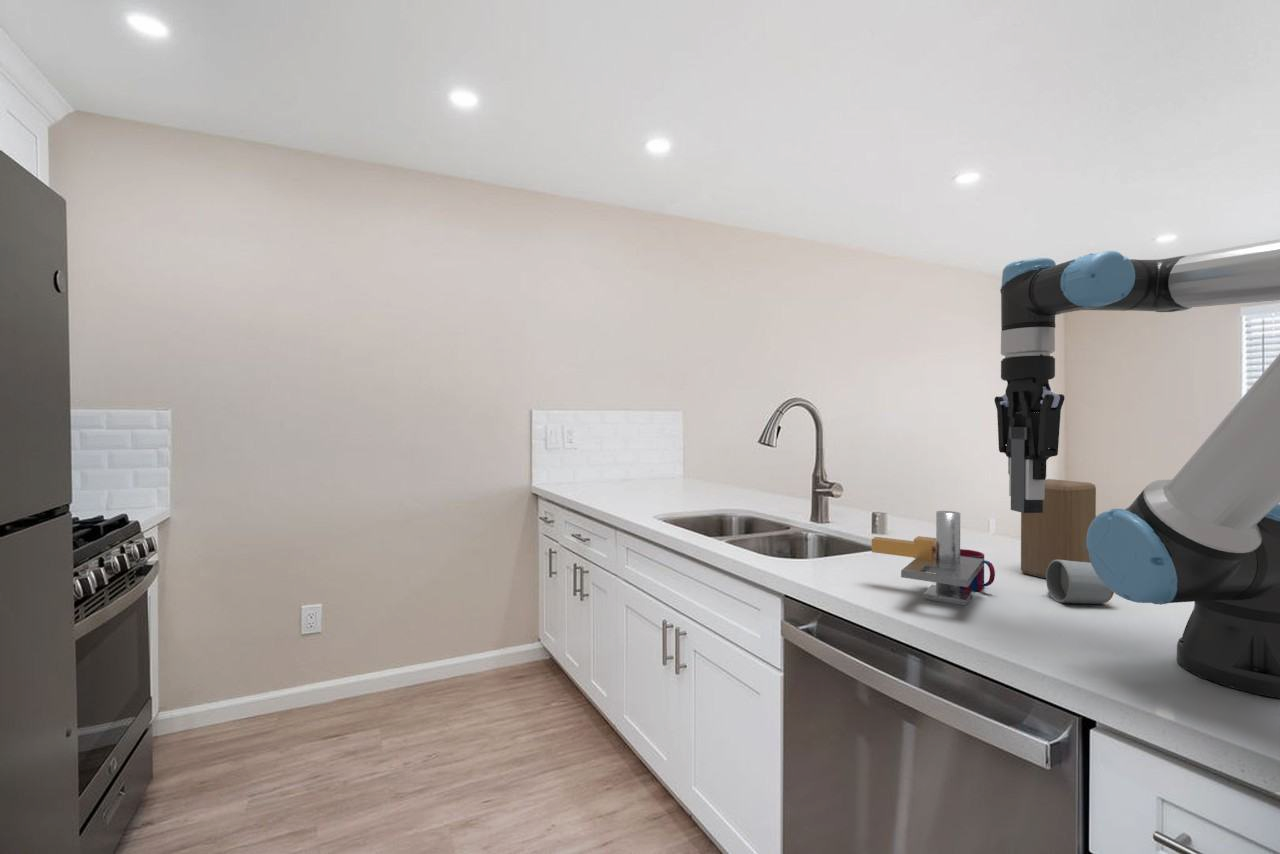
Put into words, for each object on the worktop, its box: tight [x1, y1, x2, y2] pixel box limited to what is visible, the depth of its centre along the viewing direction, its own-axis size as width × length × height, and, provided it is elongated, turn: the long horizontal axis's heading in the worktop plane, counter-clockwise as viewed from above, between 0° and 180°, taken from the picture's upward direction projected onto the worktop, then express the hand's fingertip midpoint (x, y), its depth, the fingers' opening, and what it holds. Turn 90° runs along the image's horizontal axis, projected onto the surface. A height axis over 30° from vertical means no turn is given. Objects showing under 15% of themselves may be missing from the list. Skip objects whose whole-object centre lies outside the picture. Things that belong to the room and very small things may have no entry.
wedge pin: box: [1009, 427, 1043, 513], centre depth 99 cm, size 4×3×14 cm
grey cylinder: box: [1045, 560, 1115, 605], centre depth 111 cm, size 11×8×8 cm
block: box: [1020, 478, 1097, 579], centre depth 126 cm, size 10×10×20 cm
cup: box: [960, 548, 996, 592], centre depth 118 cm, size 7×10×7 cm
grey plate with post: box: [871, 510, 985, 607], centre depth 112 cm, size 18×19×16 cm
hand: (1026, 497), depth 99 cm, fingers closed on wedge pin, 3 cm apart
